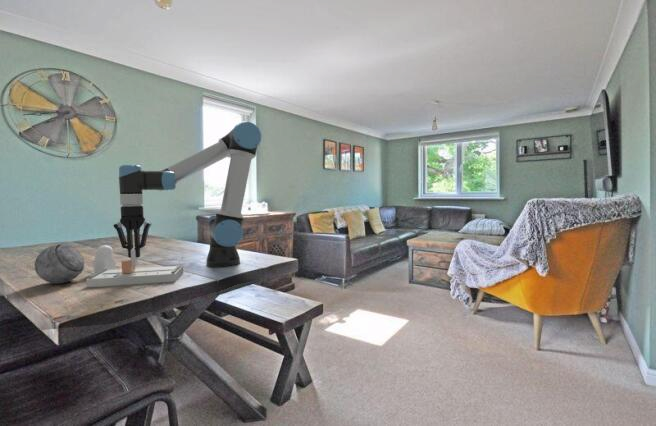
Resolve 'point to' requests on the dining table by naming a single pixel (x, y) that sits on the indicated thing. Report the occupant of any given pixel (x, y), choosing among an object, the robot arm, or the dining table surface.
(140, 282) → the board
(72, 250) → the grey rounded lump
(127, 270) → the fader knob
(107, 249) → the figurine
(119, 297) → the dining table surface
